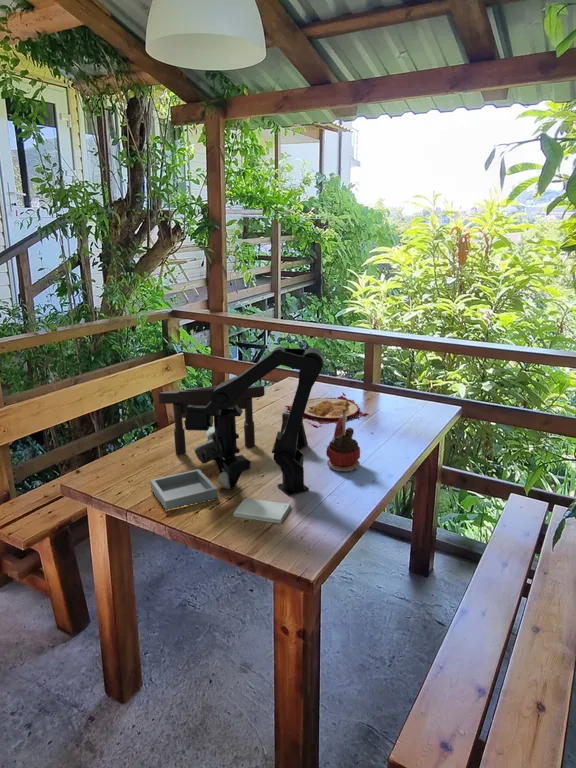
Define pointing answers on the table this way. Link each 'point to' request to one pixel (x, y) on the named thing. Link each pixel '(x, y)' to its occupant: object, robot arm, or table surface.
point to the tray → (183, 489)
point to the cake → (343, 448)
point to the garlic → (224, 480)
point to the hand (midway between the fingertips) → (227, 483)
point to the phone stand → (301, 434)
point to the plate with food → (330, 409)
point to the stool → (202, 398)
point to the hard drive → (262, 510)
